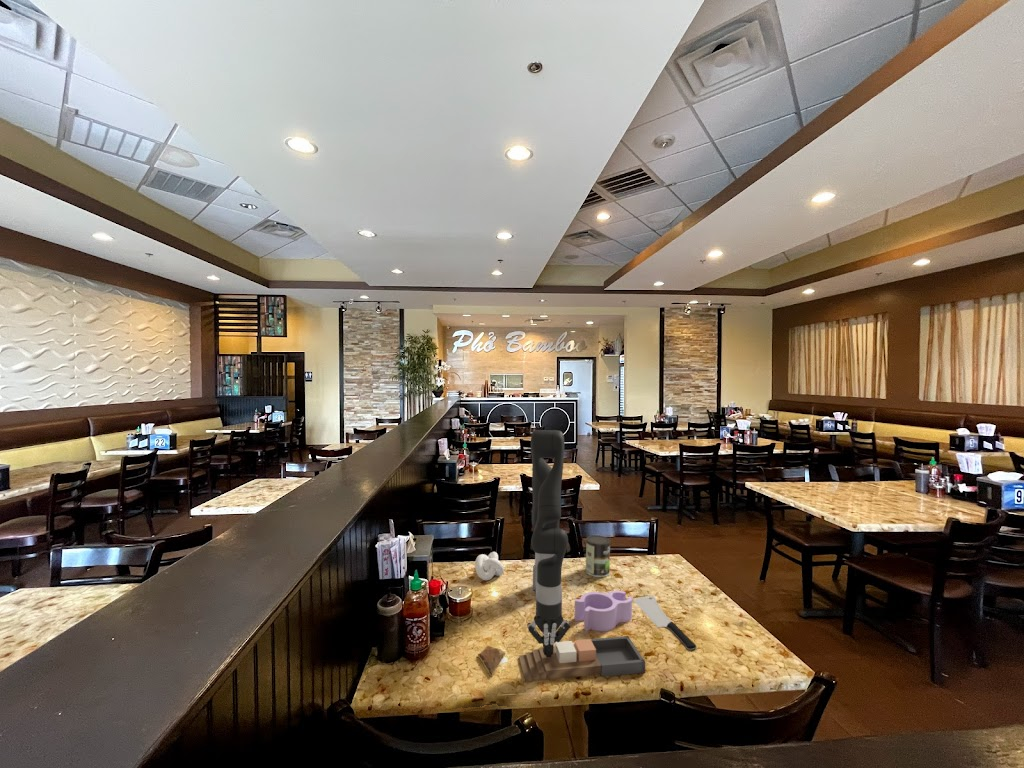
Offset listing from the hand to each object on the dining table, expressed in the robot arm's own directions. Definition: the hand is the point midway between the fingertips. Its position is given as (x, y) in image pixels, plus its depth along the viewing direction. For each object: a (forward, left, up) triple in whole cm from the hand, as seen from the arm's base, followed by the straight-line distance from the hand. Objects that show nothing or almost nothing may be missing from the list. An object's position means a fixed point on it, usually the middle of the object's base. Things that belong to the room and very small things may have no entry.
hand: (548, 655), depth 125 cm
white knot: (-45, +39, -4) cm, 60 cm away
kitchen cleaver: (+25, +40, -4) cm, 47 cm away
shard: (-15, -6, -4) cm, 16 cm away
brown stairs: (-4, -3, -3) cm, 6 cm away
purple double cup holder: (+7, +32, -4) cm, 33 cm away
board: (+5, +4, -3) cm, 7 cm away
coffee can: (-6, +65, -4) cm, 66 cm away
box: (+16, +12, -3) cm, 20 cm away
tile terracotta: (+9, +7, -1) cm, 11 cm away
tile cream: (+4, +3, -1) cm, 5 cm away
